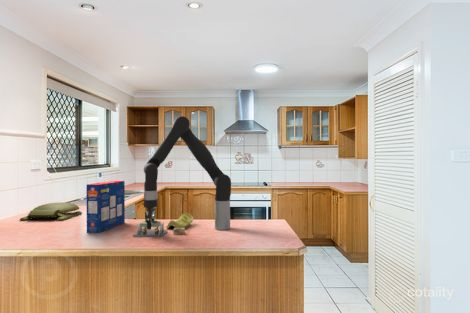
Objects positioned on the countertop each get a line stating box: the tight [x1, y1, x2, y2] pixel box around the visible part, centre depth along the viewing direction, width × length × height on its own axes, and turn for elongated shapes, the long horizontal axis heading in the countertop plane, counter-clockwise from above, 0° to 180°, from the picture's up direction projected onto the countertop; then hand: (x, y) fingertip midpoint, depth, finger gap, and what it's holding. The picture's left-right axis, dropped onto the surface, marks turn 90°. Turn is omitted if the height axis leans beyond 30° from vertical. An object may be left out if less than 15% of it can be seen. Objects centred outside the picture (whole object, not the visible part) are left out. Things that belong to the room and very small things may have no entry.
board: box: [139, 220, 162, 228], centre depth 184 cm, size 10×6×3 cm, turn 89°
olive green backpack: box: [19, 202, 83, 222], centre depth 239 cm, size 35×31×10 cm
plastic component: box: [166, 211, 195, 230], centre depth 205 cm, size 20×7×10 cm
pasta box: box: [86, 180, 126, 234], centre depth 202 cm, size 28×8×28 cm, turn 169°
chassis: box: [132, 222, 168, 238], centre depth 184 cm, size 16×12×6 cm
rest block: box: [172, 227, 186, 236], centre depth 185 cm, size 6×4×3 cm, turn 89°
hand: (150, 228), depth 184 cm, fingers closed on board, 6 cm apart
